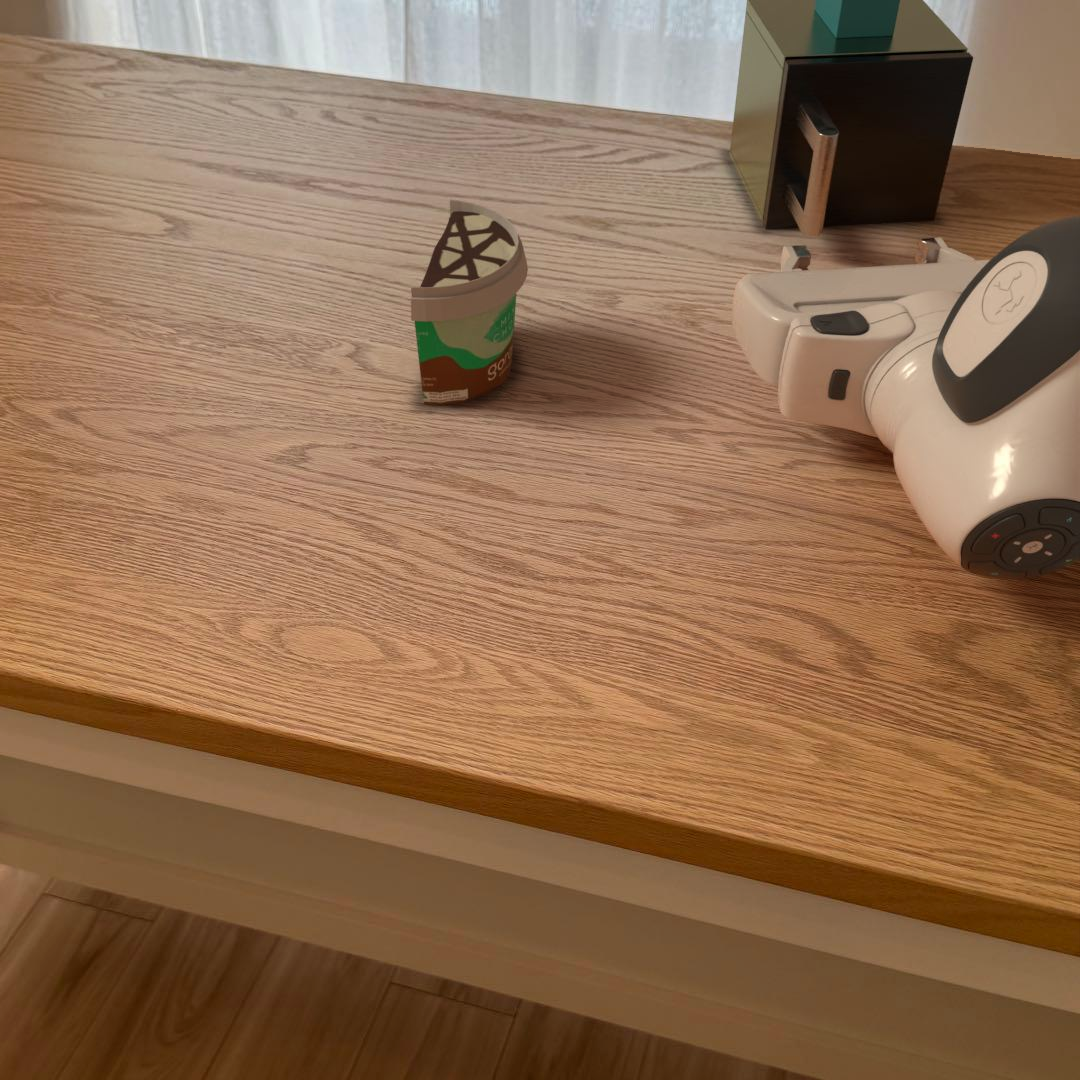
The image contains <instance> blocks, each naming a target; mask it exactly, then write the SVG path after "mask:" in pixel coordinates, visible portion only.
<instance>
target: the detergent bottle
mask: <svg viewBox="0 0 1080 1080" xmlns="http://www.w3.org/2000/svg"><path fill="white" fill-rule="evenodd" d="M899 4H900V0H816V2H815V11H816V12H817V13H818V15H819V16H820V17H821V19H822V20H823V21H824V23H825V24H826V26H827V27H828V28H829V30H830V31H831V32H832V34H833V35H834V36H835V38H854V37H878V36H893V34H894V29H895V24H896V19H897V14H898V9H899Z"/></svg>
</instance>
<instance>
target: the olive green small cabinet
mask: <svg viewBox="0 0 1080 1080" xmlns="http://www.w3.org/2000/svg"><path fill="white" fill-rule="evenodd" d="M815 2H816V0H746V7H745V14H744V23H743V31H742V33H743V34H742V41H741V42H742V43H741V49H740V50H741V51H740V59H739V60H740V61H739V69H738V78H737V86H736V94H735V103H734V113H733V121H732V128H731V129H732V131H731V137H730V138H731V140H730V148H729V158H730V160H731V162H732V164H733V166H734V168H735V170H736V172H737V175H738V176H739V179H740V180H741V183H742V184H743V187H744V189H745V191H746V192H747V195H748V197H749V199H750V201H751V203H752V205H753V207H754V209H755V211H756V213H757V215H758V217H759V219H760V222H762V223H763V219H764V212H765V205H766V198H767V190H768V183H769V176H770V169H771V161H772V154H773V147H774V140H775V132H776V125H777V118H778V111H779V103H780V96H781V89H782V82H783V74H784V67H785V61H786V60H796V59H820V58H844V57H868V56H892V55H916V54H940V53H964V52H968V51H969V48H968V47H967V46H966V44H964V43H963V42H962V41H961V40H960V38H959V37H958V36H957V35H956V34H955V33H954V32H953V31H952V30H951V29H950V27H948V25H947V24H946V23H945V22H944V21H943V20H942V19H941V18H940V17H939V16H938V15H937V14H936V13H935V11H934V10H933V9H932V8H931V7H930V6H929V5H928V3H926V2H925V0H900V4H899V9H898V14H897V19H896V24H895V29H894V34H893V36H878V37H854V38H835V36H834V35H833V34H832V32H831V31H830V30H829V28H828V27H827V26H826V24H825V23H824V21H823V20H822V19H821V17H820V16H819V15H818V13H817V12H816V11H815Z"/></svg>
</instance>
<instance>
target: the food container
mask: <svg viewBox="0 0 1080 1080" xmlns="http://www.w3.org/2000/svg"><path fill="white" fill-rule="evenodd" d="M431 254H432V255H431V258H430V261H429V263H428V266H427V269H426V271H425V275H424V276H423V279H422V281H421V284H420V286H411V287H410V291H411V298H410V321H411V322H414V329H415V338H416V339H415V340H416V345H417V347H416V348H417V354H418V366H419V374H420V381H421V382H420V383H421V391H422V399H423V400H422V401H423V405H426V406H427V405H428V406H429V405H430V406H446V405H447V406H448V405H454V404H463V403H467V402H470V401H474V400H476V399H479V398H482V397H485V396H487V395H488V394H490V393H491V392H493V391H495V390H496V389H498V388H499V387H501V386H502V384H503V383H504V382H505V381H506V380H507V379H508V378H509V375H510V373H511V370H512V363H513V348H514V333H515V320H516V306H517V305H516V304H517V293H518V292H519V290H521V288H522V287H523V286H524V284H525V281H526V280H527V277H528V272H529V268H528V261H527V256H526V253H525V248H524V244H523V242H522V239H521V237H520V235H519V233H518V232H517V230H516V228H515V226H514V225H513V223H512V222H511V221H510V220H509V219H507V218H506V216H504V215H503V214H501V213H499V212H497V211H495V209H491V208H489V207H487V206H484V205H481V204H477V203H474V202H469V201H466V200H465V201H464V200H457V199H449V217H448V221H447V224H446V227H445V229H444V231H443V233H442V235H441V236H440V238H439V239H438V242H436V244H435V246H434V248H433V251H432V253H431Z"/></svg>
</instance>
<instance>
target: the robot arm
mask: <svg viewBox="0 0 1080 1080" xmlns="http://www.w3.org/2000/svg"><path fill="white" fill-rule="evenodd" d="M916 246H917V247H918V248H917V249H916V250H915V253H914V260H915V263H911V264H910V263H909V264H893V265H892V264H891V265H875V266H874V265H873V266H860V267H859V266H857V267H844V268H843V267H841V268H823V269H809V268H808V267H810V265H811V260H812V255H811V253H810V251H809V250H808V247H807V245H805V244H802V245H784V246H783V247H782V251H781V256H780V257H781V258H780V271H773V272H771V271H770V272H753V273H747V274H745V275H744V276H743V277H741V279H740V280H739V281H738V282H737V283H736V285H735V288H734V292H733V299H732V305H731V306H732V307H731V308H732V309H731V327H732V331H733V333H734V336H735V338H736V341H737V343H738V345H739V347H740V349H741V351H742V353H743V355H744V356H745V358H746V360H747V361H748V363H749V365H750V366H751V368H752V369H753V371H754V373H756V375H757V376H758V377H759V378H760V379H761V380H762V381H763V382H765V383H766V384H767V385H769V386H771V387H773V388H776V389H777V405H778V409H779V412H780V413H781V415H782V416H783V417H784V418H786V419H788V420H791V421H793V422H794V421H795V422H801V423H807V424H808V423H809V424H816V425H822V426H829V427H834V428H839V429H845V430H848V431H853V432H856V433H860V434H863V435H866V436H868V437H869V436H870V437H873V438H878V439H879V441H880V442H881V444H882V445H883V446H884V447H885V448H886V449H887V450H888V451H889V452H891V453H892V457H893V466H894V471H895V474H896V476H897V479H898V481H899V483H900V485H901V487H902V489H903V491H904V493H905V495H906V497H907V499H908V501H909V502H910V505H911V506H912V508H913V510H914V512H915V514H916V515H917V517H918V518H919V520H920V522H921V523H922V524H923V526H924V528H925V529H926V531H927V532H928V533H929V535H930V536H931V537H932V539H933V540H934V542H935V543H936V544H937V546H938V547H939V548H940V549H941V551H943V552H944V553H945V555H946V556H947V557H948V558H949V559H950V560H952V561H953V562H954V563H955V564H956V565H957V566H959V567H960V568H961V569H963V570H965V571H967V572H970V573H971V574H975V575H978V576H983V577H987V578H992V579H997V580H1010V581H1011V580H1016V581H1017V580H1027V579H1033V578H1038V577H1042V576H1045V575H1048V574H1049V575H1050V574H1052V573H1054V572H1057V571H1059V570H1062V569H1064V568H1066V567H1069V566H1070V565H1072V564H1074V563H1076V562H1077V561H1078V560H1080V215H1078V216H1077V215H1075V216H1073V215H1072V216H1067V217H1063V218H1059V219H1056V220H1052V221H1049V222H1046V223H1044V224H1042V225H1039V226H1037V227H1035V228H1033V229H1031V230H1029V231H1027V232H1025V233H1024V234H1022V235H1021V236H1019V237H1018V238H1016V239H1014V240H1013V241H1012V242H1010V243H1009V244H1008V245H1006V246H1005V247H1004V248H1003V249H1001V250H1000V251H999V252H998V253H996V254H995V255H994V256H993V257H992V258H991V259H979V260H977V259H975V257H972V256H970V255H968V254H965V253H964V252H961V251H959V250H956V249H954V248H951V247H949V246H948V245H947V243H946V242H945V241H944V239H943V238H942V237H941V236H940V237H939V236H938V237H928V238H927V237H926V238H919V239H918V240H917V244H916Z"/></svg>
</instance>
